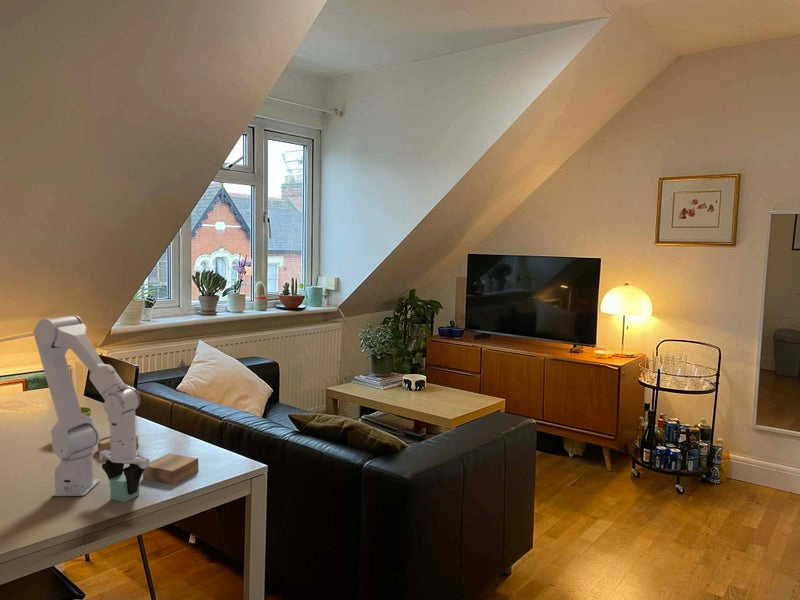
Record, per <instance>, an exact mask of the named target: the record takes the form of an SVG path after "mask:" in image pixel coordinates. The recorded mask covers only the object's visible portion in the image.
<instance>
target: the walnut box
mask: <svg viewBox="0 0 800 600" xmlns="http://www.w3.org/2000/svg"><path fill="white" fill-rule="evenodd" d="M198 472H199V458H198V457H192V456H188V455H187V456H185V455H180V454H174V453H167V454H165V455H163V456H161V457H158V458H156V459H154V460H152V461H149V467H146V468H145V470H144V471H143V473H142V479H143V478H144V479H143V480H147V479H149V480H148V481H152V480H153V482H157V481H159V482H158V483H162V482H163V483H164V484H167V485H175V484H177V483H179V482H182V481H183V480H185V479H186V477H187V478H188V476H189V477H191V476H192V475H195V474H196V473H198ZM184 478H185V479H184ZM182 479H183V480H182Z"/></svg>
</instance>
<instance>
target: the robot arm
mask: <svg viewBox="0 0 800 600" xmlns="http://www.w3.org/2000/svg"><path fill="white" fill-rule="evenodd" d="M32 333H33V336H34V339H35V343H36V347H37V350H38V351H37V352H38V353H39V357H40V360H41V365H42V368H43V372H44V375H45V379H46V382H47V385H48V386H47V387H48V390H49V393H50V395H51V396H50V397H51V399H52V403H53V407H54V409H55V413H56V417H57V419H58V420H57V422H55V425H54V426H53V427H52V429H51V430H50V434H51V437H52V438H51V447H52V451H53V452H54V455H56V456H57V458H60V461H59V464H58V465H57V466H56V468H55V470H54V485H55V486H54V488H55V491H54V492H52V493H51V497H76V496H77V497H78V496H79V497H81V496H85V495H87V494H88V493H89V492H90V491H92V489H93V488H94V487H95V486H96V485H97V484H98V483H100V482H101V479H98V478H97V479H96V478H95V479H94V463H93V462H94V461H93V460H94V458H93V452H94V451H95V447H96V446H98V441H99V440H100V434H99V431H98V429H97V427H96V426H95V424H94V422H93V419H92V417H88V416H86V415H84V414H82V413H81V409H80V407H81V406H80V403H79V399H78V397H77V392H76V389H75V385H74V381H73V378H72V375H71V372H70V371H71V370H70V368H69V365H68V361H67V358H66V357H67V356H66V354H67V352H68V350H71V351H72V352H73V353H74V354H75V355H76V357H77V358H78V359H79V360H80V361H81V362H82V364H83V365H84V366H85V367H86V368H87V369H88V370H89V378H88V379H89V380H90V382H91V384H92V385H93V386H94V387H95V388H96V390H97V391H98V393H99V394H100V396H101V397H102V399H103V400H104V402H103V403H102V406H103V407H102V408H103V409H104V411H105V413H106V415H107V421H108V422H109V431H110V432H109V434H110V435H109V436H110V442H111V451H110V450H104V451H101V452H99V453H98V457H99V458H98V459H99V460H100V461H104V460H106V462H105V463H102V464H101V468H102V470H103V471H104V473H105V474H106V475H107V478H108V481H110V479H112V478H114V477H116V476H119V475H121V474H123V473H124V475H125V477H126V481H127V490H128V494H129V495H132V494H134V493H136V492H137V489H138V485H139V486H140V481H141V479H142V477H143V471H144V470H145V468H146V467H149V462H150V458H148V457H145V456H143V455H141V454H140V453H139V450H136V435H137V431H136V430H137V429H136V428H137V427H136V426H137V425H136V410H137V408H139V406H140V404H141V397H140V396H141V395H140V393H139V392H138V390H137V389H136V388H134V387H132V386H130V385H129V384H126V383H125V382H124V381H123V379H122V378H121V377H120V376H119V373H117V371H116V369H115V368H114V367H113V366H112V365H111V364H107V363H106V364H105V363H104V361H103V360H102V359H101V357H100V355H99V354H98V352H97V351H96V348H95V347H94V345H93V344H92V343H91V341H90V339H89V338H88V336H87V325H85V323H84V322H83V319H82V318H81V317H80V316H78V315H77V314H70V315H66V316H59V317H52V318H41V319H39V320H38V322H37V323H36V326H35V327H34V329H33V331H32ZM75 426H77V428H74V429H71V430H69V429H70V428H72V427H75ZM125 464H126V465H129V466H126V467H124V466H125Z"/></svg>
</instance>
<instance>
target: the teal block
mask: <svg viewBox="0 0 800 600" xmlns="http://www.w3.org/2000/svg"><path fill="white" fill-rule="evenodd" d="M109 485H110V486H109V489H110V491H109V493H110V499H111V500H113V499H114V501H117V500H118V502H122V503H126V502H128V501H130V500H132V499H134V498H136V496H137V497H139V496H140V484H139V485H138V489H137V492H136V493H134V494H132V495H129V494H128V490H127V481H126V477H125V475H124V472H123V473H122V474H121V475H119V476H116V477H114V478H112V479H110V480H109ZM138 495H139V496H138Z"/></svg>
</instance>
